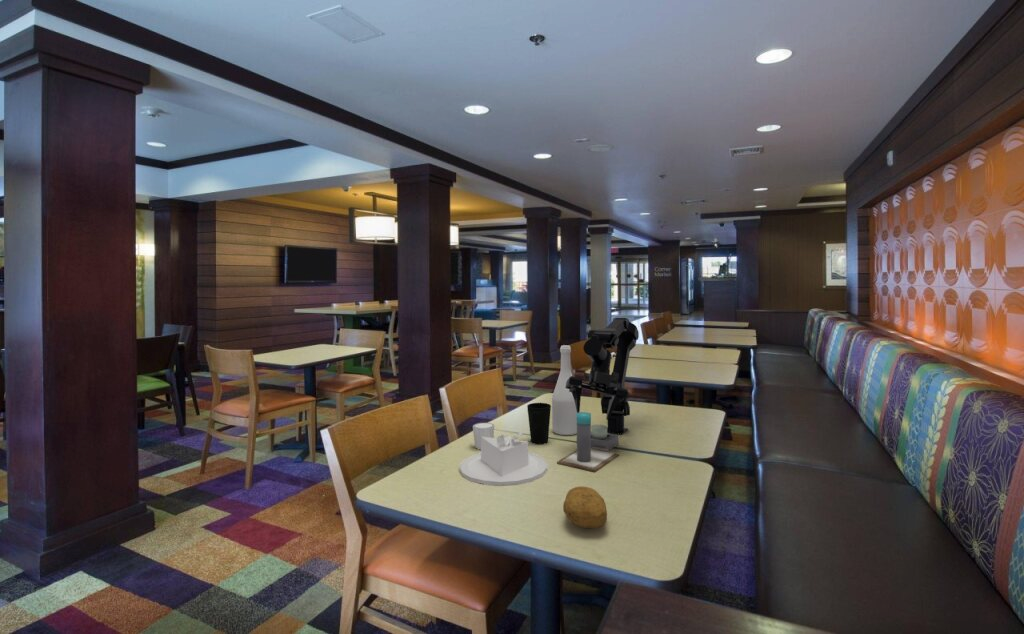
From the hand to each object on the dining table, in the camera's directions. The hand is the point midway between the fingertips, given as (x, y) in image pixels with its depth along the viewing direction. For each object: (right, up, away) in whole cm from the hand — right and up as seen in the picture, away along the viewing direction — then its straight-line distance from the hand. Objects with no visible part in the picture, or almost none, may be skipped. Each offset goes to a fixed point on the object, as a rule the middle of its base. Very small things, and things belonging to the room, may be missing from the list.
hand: (592, 416), depth 156 cm
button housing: (+3, -11, +8) cm, 14 cm away
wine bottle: (-6, -10, +23) cm, 26 cm away
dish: (-27, -13, -10) cm, 31 cm away
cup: (-15, -11, +13) cm, 23 cm away
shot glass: (-33, -12, +8) cm, 36 cm away
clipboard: (-2, -12, -5) cm, 13 cm away
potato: (-8, -15, -43) cm, 46 cm away
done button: (+3, -8, +8) cm, 12 cm away
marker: (-4, -11, -7) cm, 14 cm away
